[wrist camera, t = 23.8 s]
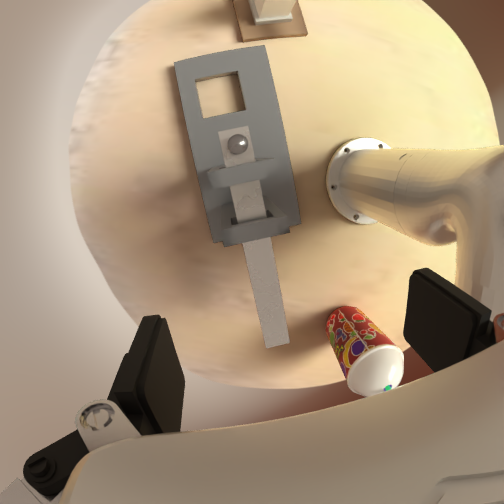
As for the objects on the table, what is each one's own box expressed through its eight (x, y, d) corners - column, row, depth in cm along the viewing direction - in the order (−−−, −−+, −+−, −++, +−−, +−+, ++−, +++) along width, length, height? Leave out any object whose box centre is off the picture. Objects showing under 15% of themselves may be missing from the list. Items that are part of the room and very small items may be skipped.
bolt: (245, 128, 27) (250, 122, 22) (285, 330, 34) (294, 355, 29) (218, 134, 27) (217, 129, 22) (263, 335, 34) (269, 361, 29)
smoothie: (309, 319, 47) (354, 408, 28) (351, 288, 46) (417, 363, 27) (333, 349, 49) (378, 434, 30) (372, 321, 48) (432, 395, 30)
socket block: (263, 48, 34) (285, -3, 19) (298, 221, 42) (337, 256, 27) (175, 65, 34) (150, 19, 19) (213, 240, 42) (209, 286, 27)
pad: (291, -12, 31) (292, -15, 30) (306, 36, 34) (307, 33, 33) (230, -7, 31) (231, -10, 30) (242, 42, 33) (243, 39, 32)
